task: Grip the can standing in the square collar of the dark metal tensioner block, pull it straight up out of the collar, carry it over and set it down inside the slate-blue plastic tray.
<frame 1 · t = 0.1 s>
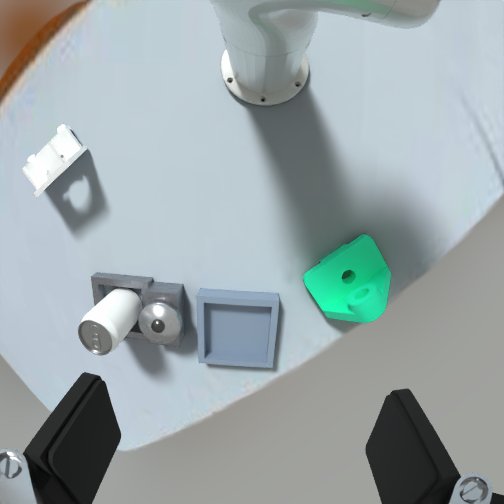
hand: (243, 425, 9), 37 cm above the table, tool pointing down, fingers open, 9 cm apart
camera mount: (343, 271, 46), on the table
tray: (237, 325, 48), on the table
can: (126, 303, 48), resting in tensioner
tensioner: (126, 304, 48), on the table
mounting bracket: (62, 161, 42), on the table
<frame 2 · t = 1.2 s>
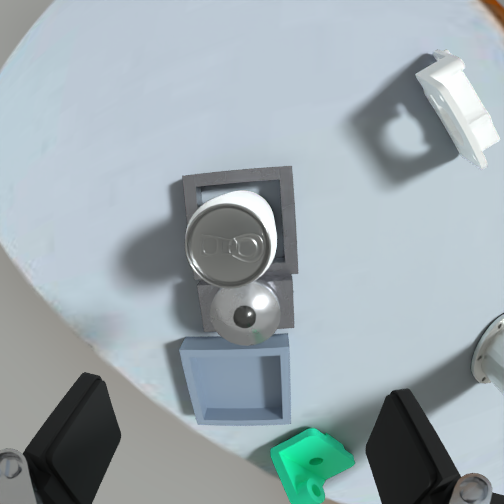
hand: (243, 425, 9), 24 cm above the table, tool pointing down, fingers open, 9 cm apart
camera mount: (314, 448, 39), on the table
tray: (240, 376, 36), on the table
can: (242, 221, 31), resting in tensioner
tensioner: (242, 221, 31), on the table
mounting bracket: (441, 106, 27), on the table
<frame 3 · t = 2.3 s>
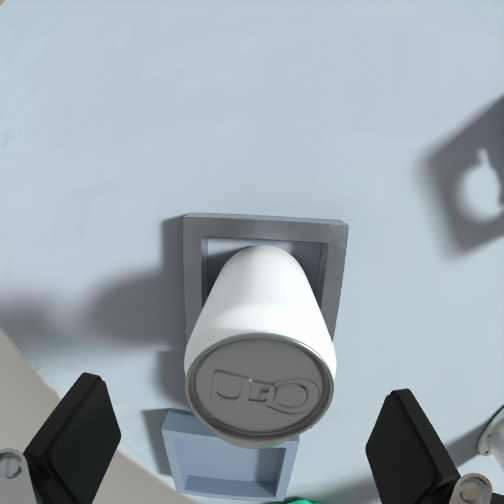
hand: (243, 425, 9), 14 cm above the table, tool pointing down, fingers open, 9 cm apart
tray: (231, 452, 27), on the table
can: (262, 286, 22), resting in tensioner
tensioner: (262, 287, 22), on the table
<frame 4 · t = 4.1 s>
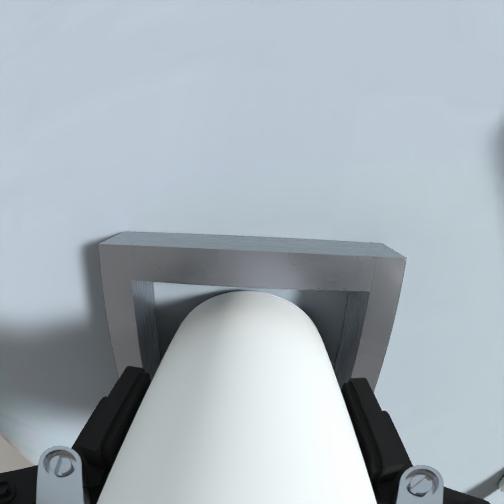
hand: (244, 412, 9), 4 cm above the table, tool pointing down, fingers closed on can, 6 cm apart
can: (248, 352, 13), resting in tensioner, touching gripper
tensioner: (247, 354, 13), on the table
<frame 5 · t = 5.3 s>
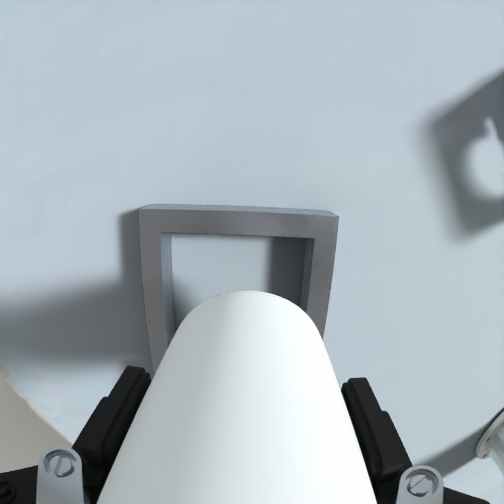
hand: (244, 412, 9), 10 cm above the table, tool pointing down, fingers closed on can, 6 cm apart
can: (248, 351, 13), point 6 cm above the table, touching gripper
tensioner: (236, 291, 19), on the table
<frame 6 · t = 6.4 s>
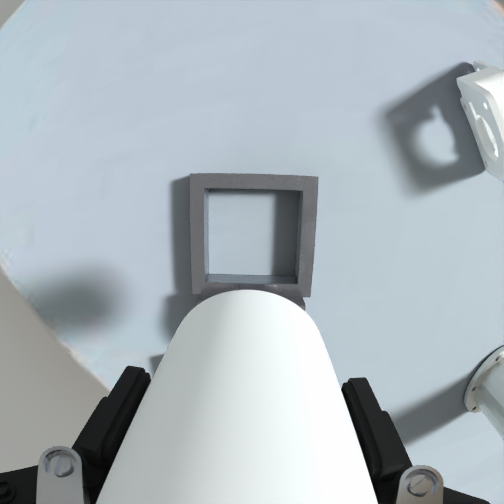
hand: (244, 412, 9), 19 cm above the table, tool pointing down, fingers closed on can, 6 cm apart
can: (248, 351, 13), point 15 cm above the table, touching gripper
tensioner: (252, 232, 27), on the table
mounting bracket: (474, 118, 24), on the table
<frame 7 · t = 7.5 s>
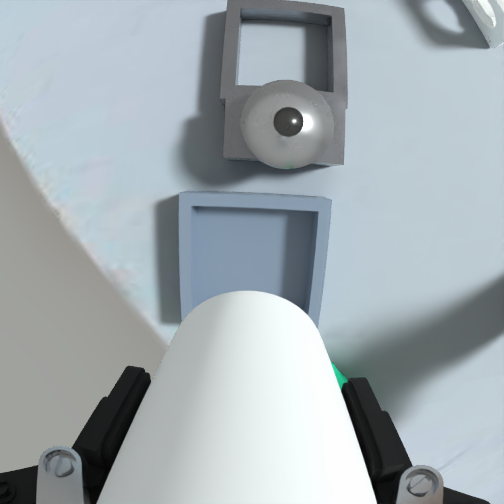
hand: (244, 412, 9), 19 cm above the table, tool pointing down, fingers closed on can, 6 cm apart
tray: (252, 259, 28), on the table
can: (248, 352, 13), point 15 cm above the table, touching gripper
tensioner: (284, 55, 23), on the table
mounting bracket: (472, 9, 20), on the table
when the fingers open (5 cm above the table, at t = 10.3 s): can drops 1 cm, resting on tray.
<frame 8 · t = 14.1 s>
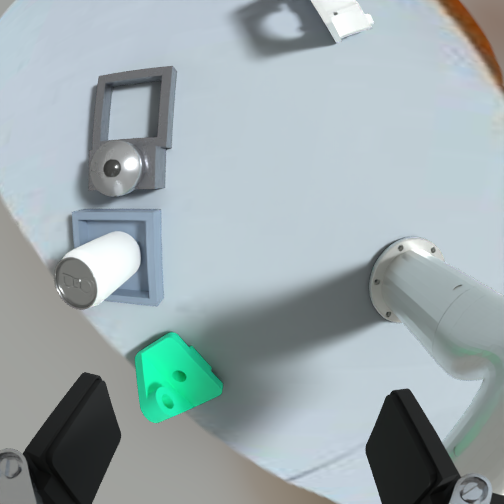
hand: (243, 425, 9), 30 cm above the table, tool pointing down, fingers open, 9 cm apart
camera mount: (183, 365, 43), on the table
tray: (121, 252, 39), on the table
can: (121, 253, 38), resting on tray
tensioner: (136, 111, 34), on the table
mounting bracket: (326, 10, 30), on the table
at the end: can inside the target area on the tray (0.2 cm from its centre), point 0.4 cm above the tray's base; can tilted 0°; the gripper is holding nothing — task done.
